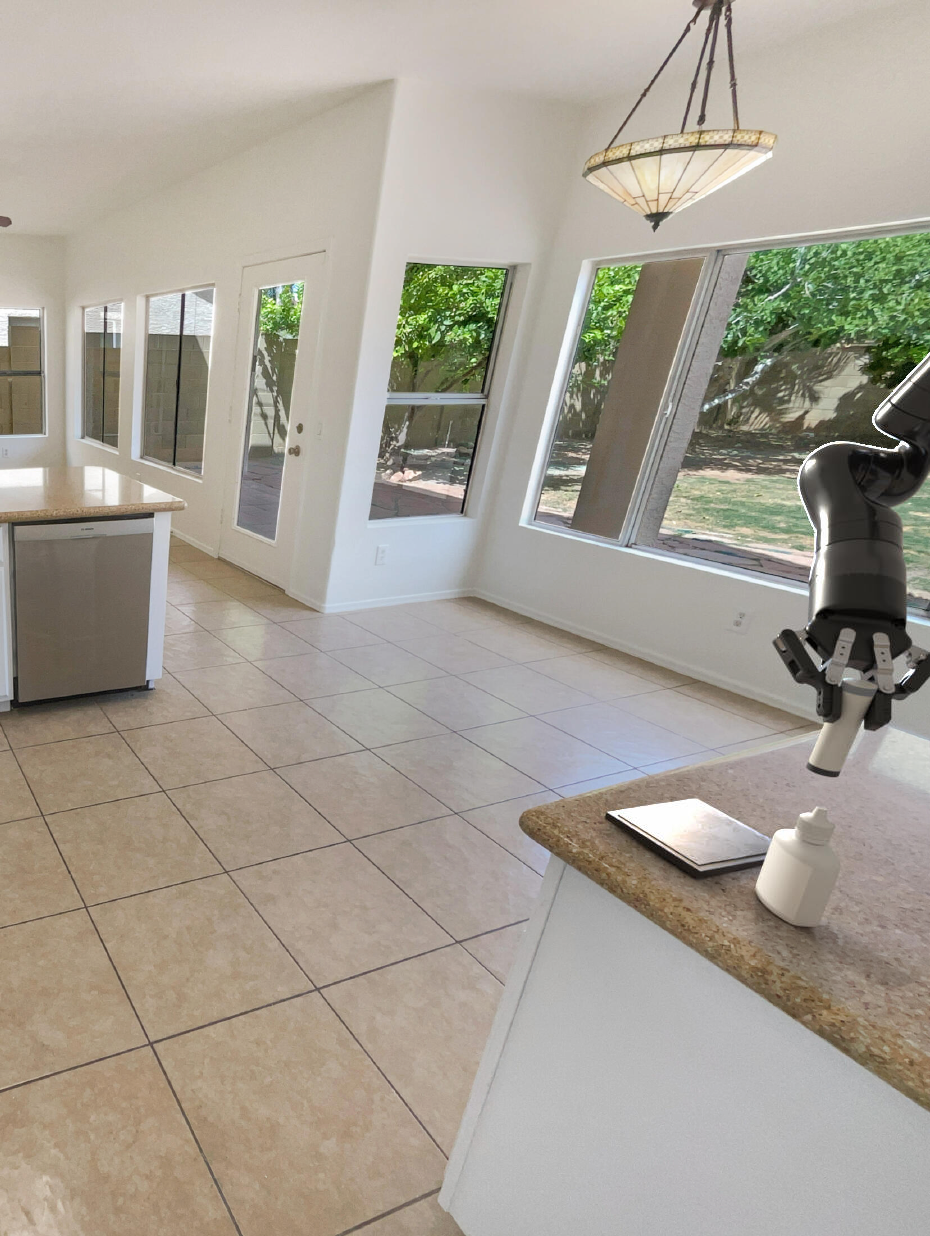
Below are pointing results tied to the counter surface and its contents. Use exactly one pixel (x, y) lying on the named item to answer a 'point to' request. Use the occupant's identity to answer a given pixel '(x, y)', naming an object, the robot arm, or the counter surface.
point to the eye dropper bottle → (800, 870)
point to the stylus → (842, 728)
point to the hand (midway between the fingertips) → (852, 723)
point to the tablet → (694, 836)
